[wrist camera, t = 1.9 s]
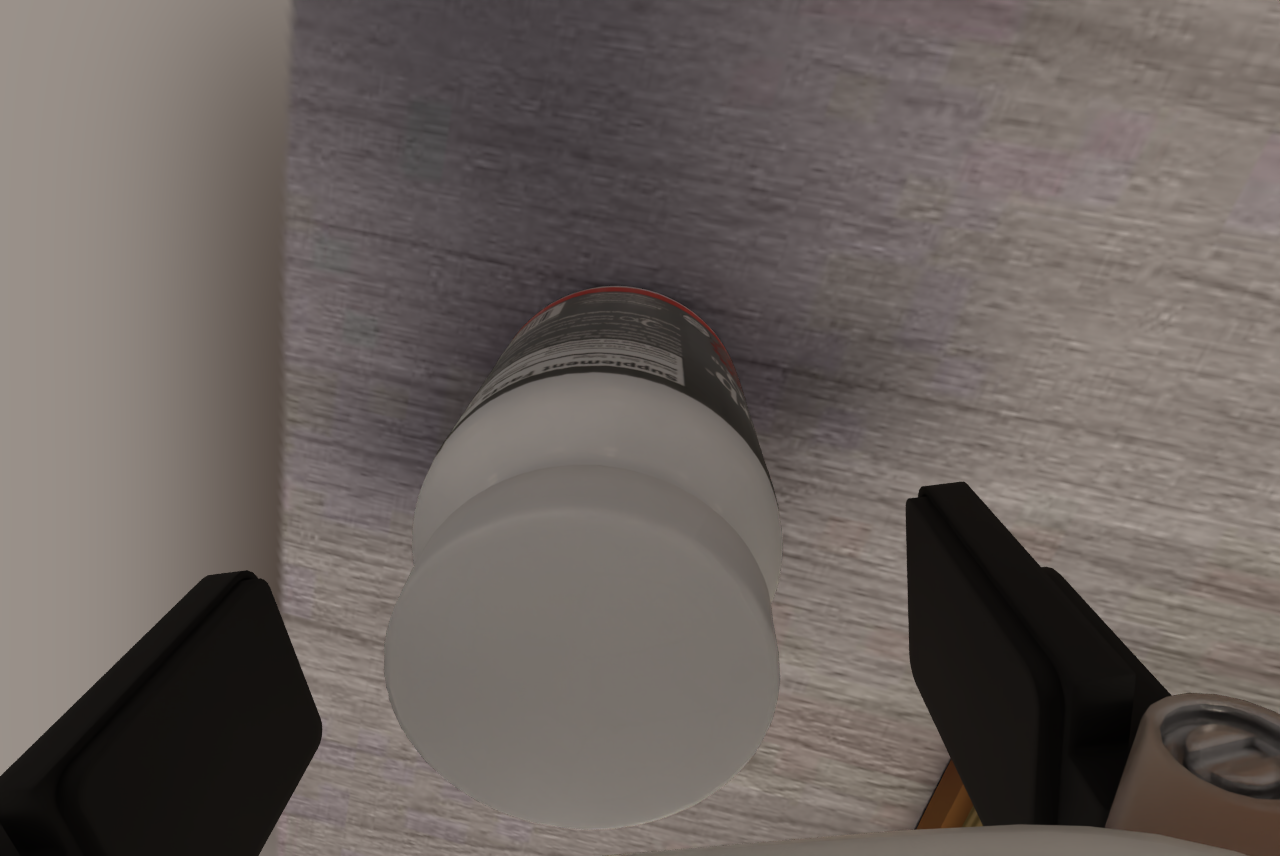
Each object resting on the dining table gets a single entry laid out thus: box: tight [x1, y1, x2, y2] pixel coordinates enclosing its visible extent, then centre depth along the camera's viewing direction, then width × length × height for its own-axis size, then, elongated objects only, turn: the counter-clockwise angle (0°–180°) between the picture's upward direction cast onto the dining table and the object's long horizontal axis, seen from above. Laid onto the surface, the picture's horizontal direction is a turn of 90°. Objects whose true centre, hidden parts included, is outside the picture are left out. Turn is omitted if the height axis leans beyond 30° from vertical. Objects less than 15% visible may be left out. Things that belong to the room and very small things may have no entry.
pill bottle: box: [384, 286, 783, 830], centre depth 13 cm, size 6×6×10 cm
